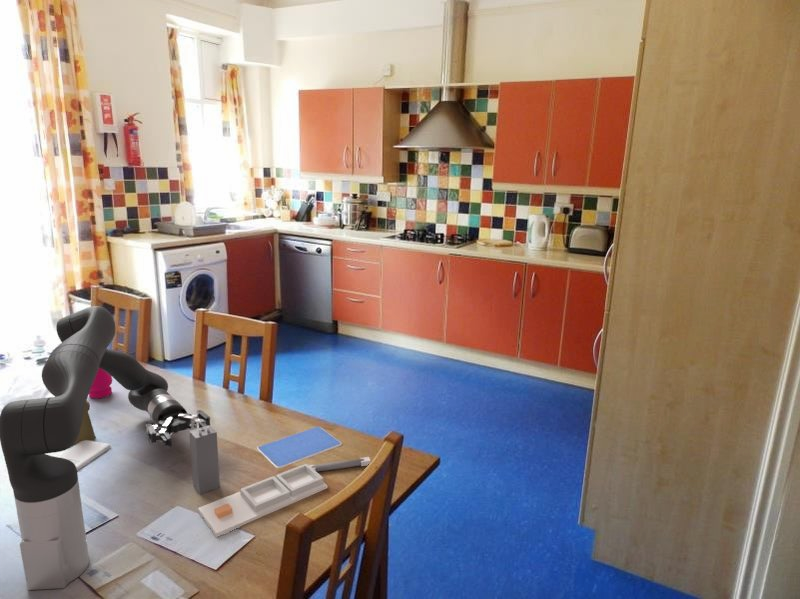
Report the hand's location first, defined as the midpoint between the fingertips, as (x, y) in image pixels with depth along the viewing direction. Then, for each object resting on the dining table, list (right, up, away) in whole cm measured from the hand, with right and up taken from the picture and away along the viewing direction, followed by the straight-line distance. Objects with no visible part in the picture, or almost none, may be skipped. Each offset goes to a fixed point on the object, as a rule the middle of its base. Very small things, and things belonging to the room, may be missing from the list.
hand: (188, 437), depth 125 cm
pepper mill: (-43, +3, +39) cm, 58 cm away
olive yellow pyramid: (-33, -4, +12) cm, 36 cm away
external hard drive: (-29, -7, +4) cm, 30 cm away
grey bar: (+35, -8, +3) cm, 37 cm away
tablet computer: (+24, -7, +13) cm, 28 cm away
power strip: (+21, -11, -9) cm, 26 cm away
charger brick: (+6, -10, -5) cm, 13 cm away
